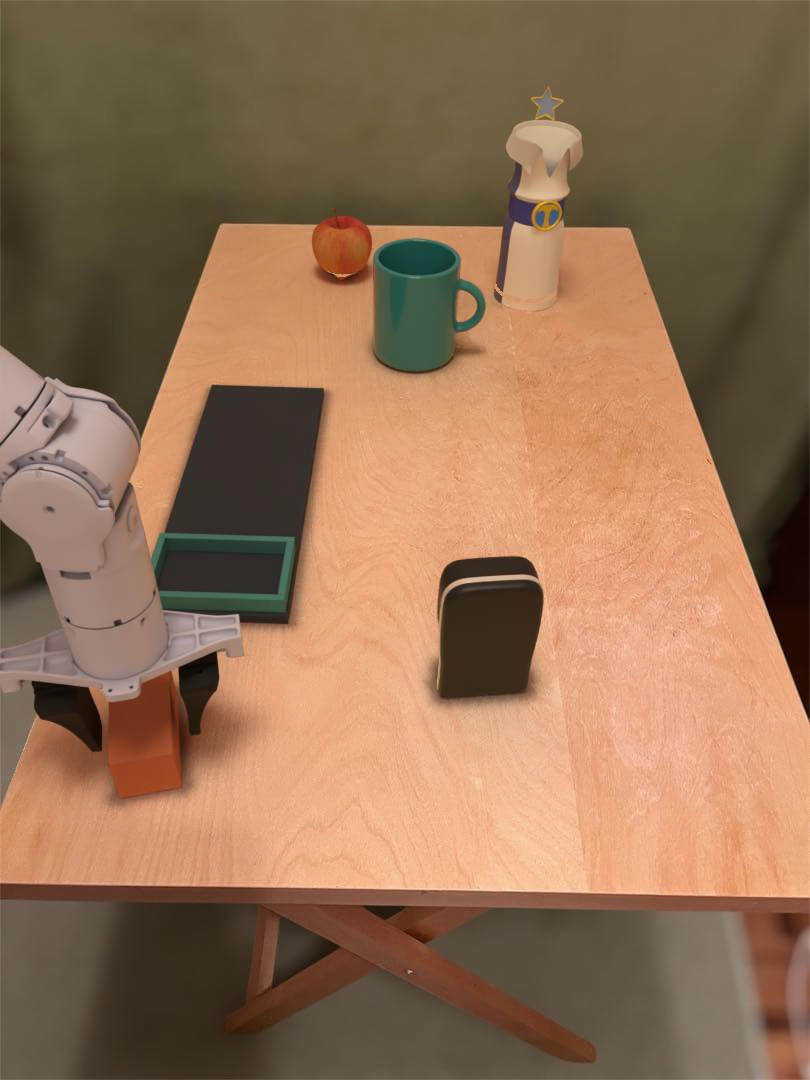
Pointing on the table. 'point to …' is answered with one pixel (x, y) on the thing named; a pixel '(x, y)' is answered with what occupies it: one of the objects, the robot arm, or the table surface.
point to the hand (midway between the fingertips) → (146, 731)
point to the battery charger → (487, 625)
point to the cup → (418, 303)
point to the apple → (342, 245)
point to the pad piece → (146, 739)
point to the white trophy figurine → (536, 206)
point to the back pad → (241, 505)
